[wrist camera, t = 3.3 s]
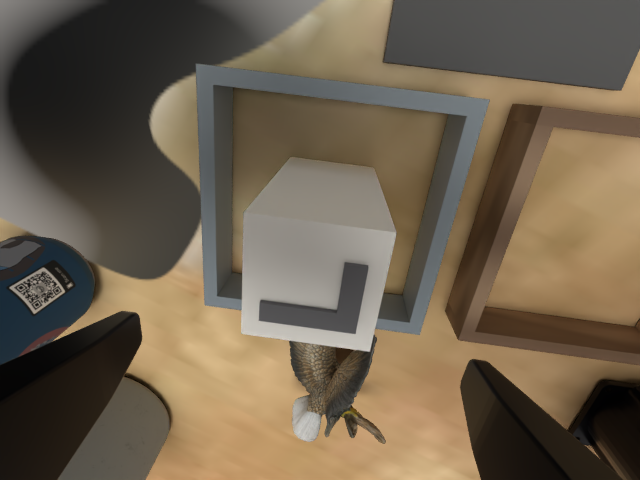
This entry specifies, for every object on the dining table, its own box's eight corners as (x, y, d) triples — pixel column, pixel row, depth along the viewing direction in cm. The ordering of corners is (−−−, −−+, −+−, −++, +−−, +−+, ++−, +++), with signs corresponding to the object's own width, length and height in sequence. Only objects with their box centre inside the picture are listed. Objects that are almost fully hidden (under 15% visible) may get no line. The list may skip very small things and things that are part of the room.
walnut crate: (640, 337, 23) (679, 370, 21) (445, 311, 24) (458, 340, 21) (771, 135, 18) (849, 144, 15) (512, 103, 18) (542, 106, 15)
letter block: (360, 243, 22) (370, 355, 13) (284, 233, 22) (239, 337, 13) (373, 167, 20) (397, 235, 11) (290, 156, 20) (242, 214, 11)
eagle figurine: (409, 394, 26) (401, 313, 21) (363, 488, 21) (340, 414, 16) (327, 356, 30) (305, 281, 25) (276, 427, 26) (237, 354, 21)
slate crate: (411, 306, 24) (419, 334, 21) (220, 280, 24) (204, 305, 21) (468, 98, 18) (489, 99, 15) (218, 67, 18) (195, 63, 16)
